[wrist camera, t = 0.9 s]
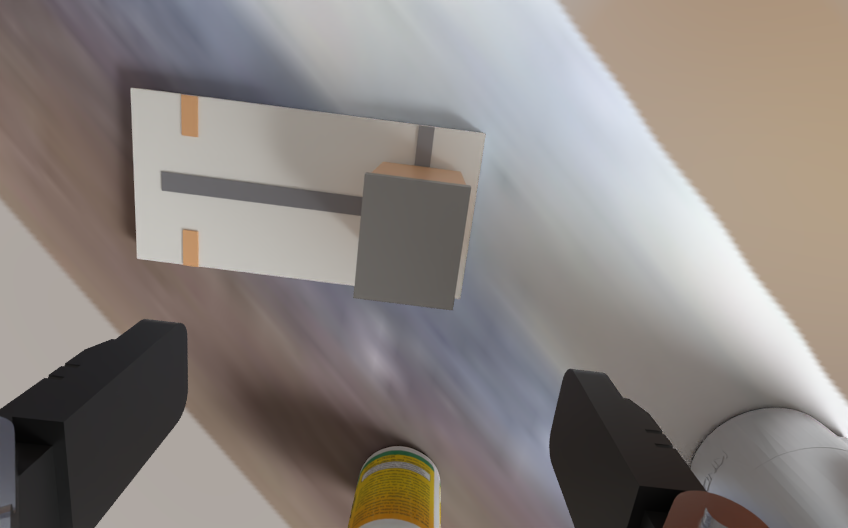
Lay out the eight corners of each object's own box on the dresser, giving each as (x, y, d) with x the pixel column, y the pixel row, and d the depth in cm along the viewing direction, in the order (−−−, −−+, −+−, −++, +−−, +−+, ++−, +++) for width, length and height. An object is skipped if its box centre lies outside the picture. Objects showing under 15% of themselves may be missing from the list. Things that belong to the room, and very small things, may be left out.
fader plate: (483, 132, 27) (486, 134, 26) (458, 290, 30) (460, 300, 28) (146, 88, 27) (129, 87, 25) (151, 251, 30) (135, 259, 28)
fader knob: (463, 169, 26) (471, 187, 20) (448, 266, 28) (452, 310, 21) (381, 159, 26) (364, 173, 20) (371, 256, 27) (353, 298, 21)
